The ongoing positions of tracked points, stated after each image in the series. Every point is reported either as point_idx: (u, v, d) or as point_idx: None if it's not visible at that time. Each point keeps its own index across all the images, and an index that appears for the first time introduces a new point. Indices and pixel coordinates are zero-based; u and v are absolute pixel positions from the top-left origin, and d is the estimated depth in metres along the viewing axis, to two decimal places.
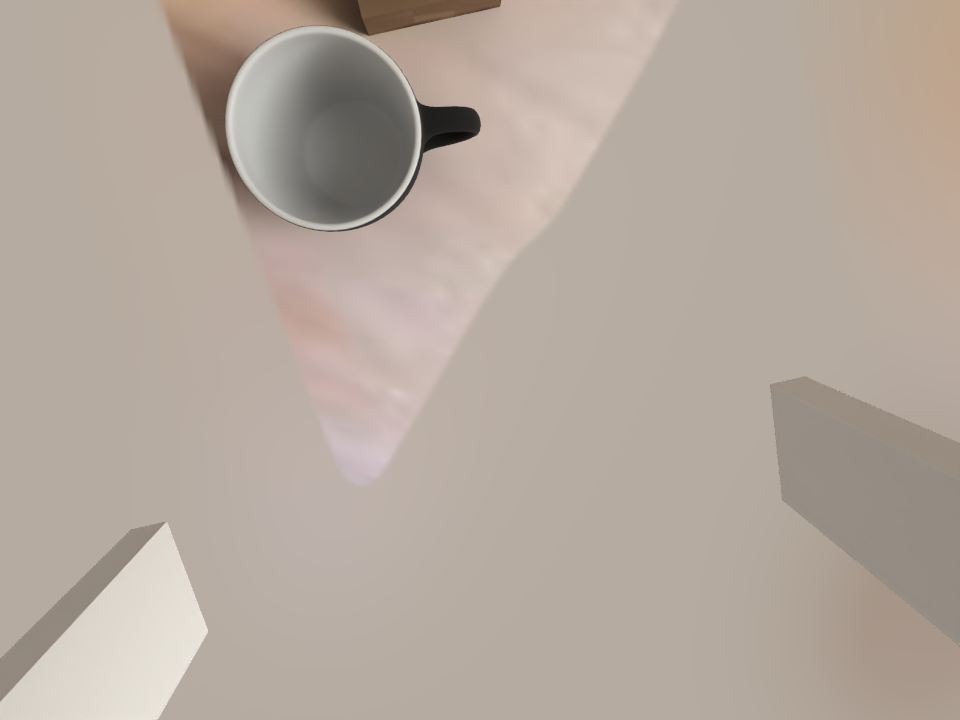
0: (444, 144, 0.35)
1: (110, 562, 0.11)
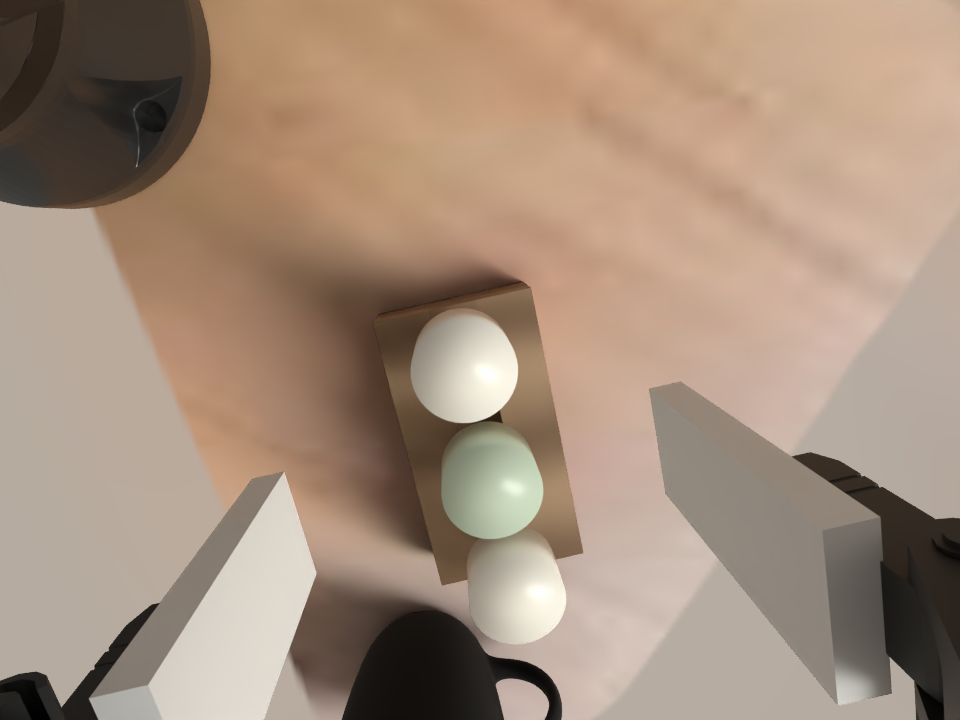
0: None
1: (246, 503, 0.12)
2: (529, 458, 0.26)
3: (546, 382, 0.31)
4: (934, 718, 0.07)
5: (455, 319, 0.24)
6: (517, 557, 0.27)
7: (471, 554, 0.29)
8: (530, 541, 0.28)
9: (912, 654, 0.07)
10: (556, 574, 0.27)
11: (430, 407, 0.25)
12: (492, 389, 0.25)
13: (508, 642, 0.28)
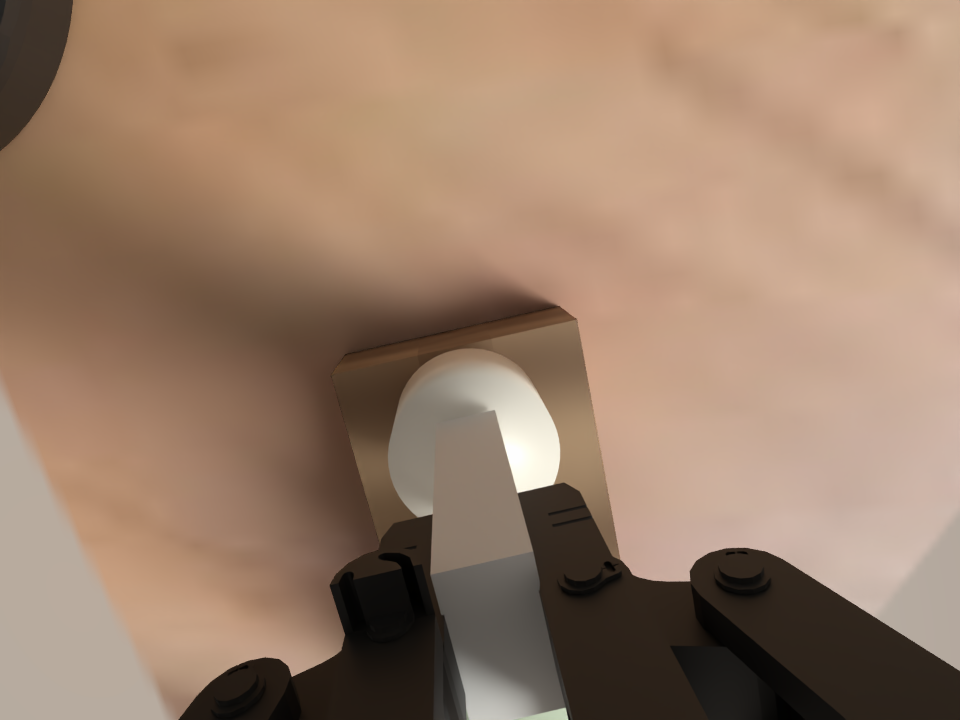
0: None
1: (449, 439, 0.13)
2: None
3: (597, 461, 0.20)
4: None
5: (460, 374, 0.15)
6: None
7: None
8: None
9: (557, 673, 0.08)
10: None
11: (420, 512, 0.15)
12: (519, 483, 0.15)
13: None
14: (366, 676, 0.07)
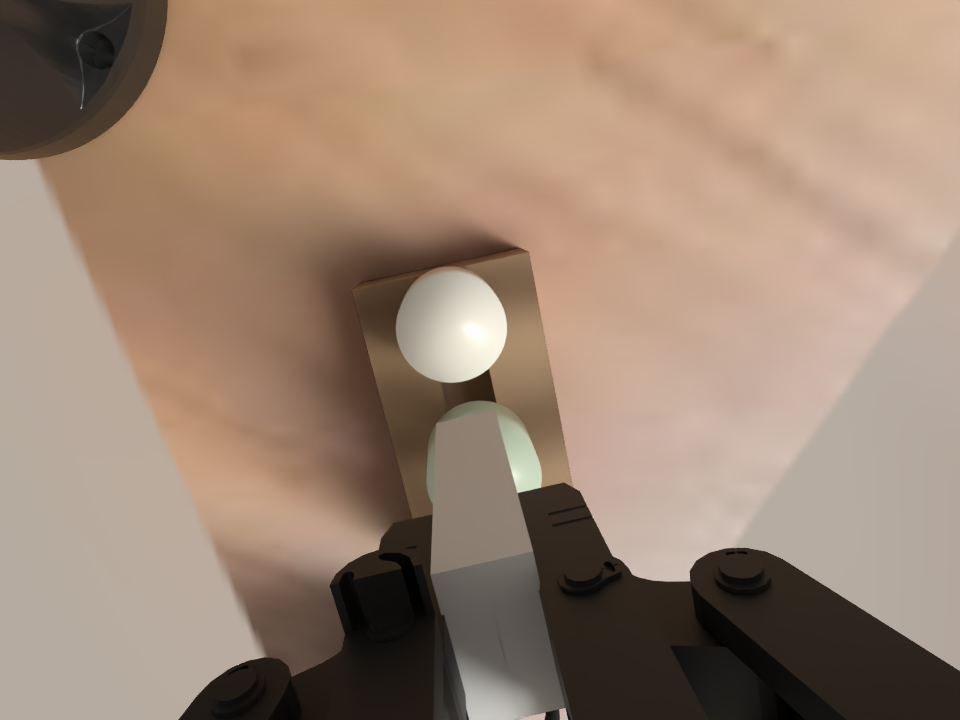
0: None
1: (449, 439, 0.13)
2: (526, 441, 0.23)
3: (545, 358, 0.28)
4: None
5: (442, 274, 0.23)
6: None
7: None
8: None
9: (557, 673, 0.08)
10: None
11: (416, 366, 0.24)
12: (480, 347, 0.24)
13: None
14: (366, 676, 0.07)
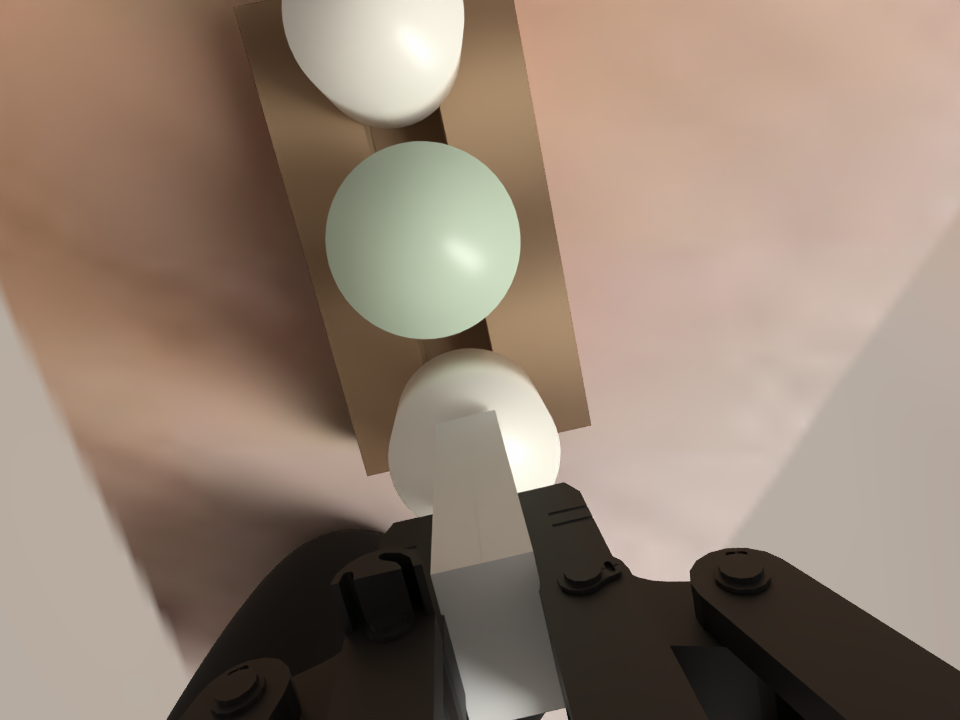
0: None
1: (449, 439, 0.13)
2: (493, 174, 0.13)
3: (531, 126, 0.18)
4: None
5: None
6: (474, 373, 0.15)
7: (402, 394, 0.17)
8: (499, 363, 0.16)
9: (557, 673, 0.08)
10: (543, 406, 0.15)
11: (318, 79, 0.15)
12: (421, 49, 0.15)
13: None
14: (366, 676, 0.07)
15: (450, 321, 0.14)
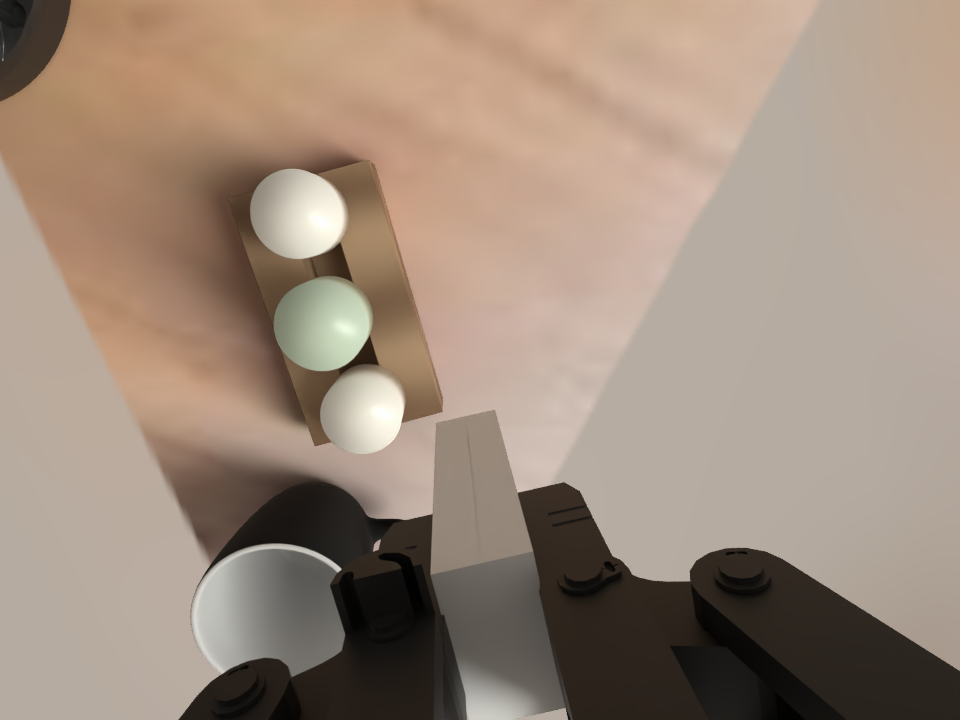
0: None
1: (449, 439, 0.13)
2: (350, 294, 0.29)
3: (391, 249, 0.34)
4: None
5: (283, 170, 0.30)
6: (357, 376, 0.32)
7: None
8: (375, 371, 0.34)
9: (557, 673, 0.08)
10: (391, 390, 0.32)
11: (269, 246, 0.30)
12: (319, 228, 0.30)
13: (358, 453, 0.33)
14: (366, 676, 0.07)
15: (335, 362, 0.29)
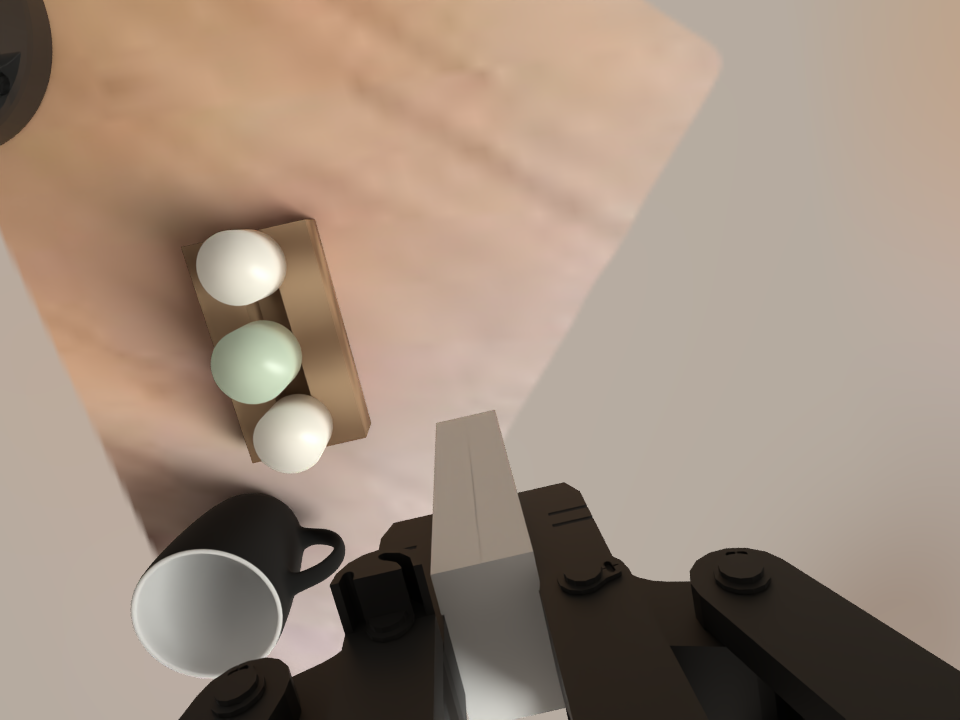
0: (323, 544, 0.43)
1: (449, 439, 0.13)
2: (277, 340, 0.34)
3: (323, 296, 0.39)
4: None
5: (226, 230, 0.35)
6: (286, 406, 0.37)
7: None
8: (304, 401, 0.39)
9: (557, 673, 0.08)
10: (315, 420, 0.37)
11: (212, 294, 0.35)
12: (256, 281, 0.35)
13: (285, 472, 0.38)
14: (366, 676, 0.07)
15: (263, 397, 0.34)
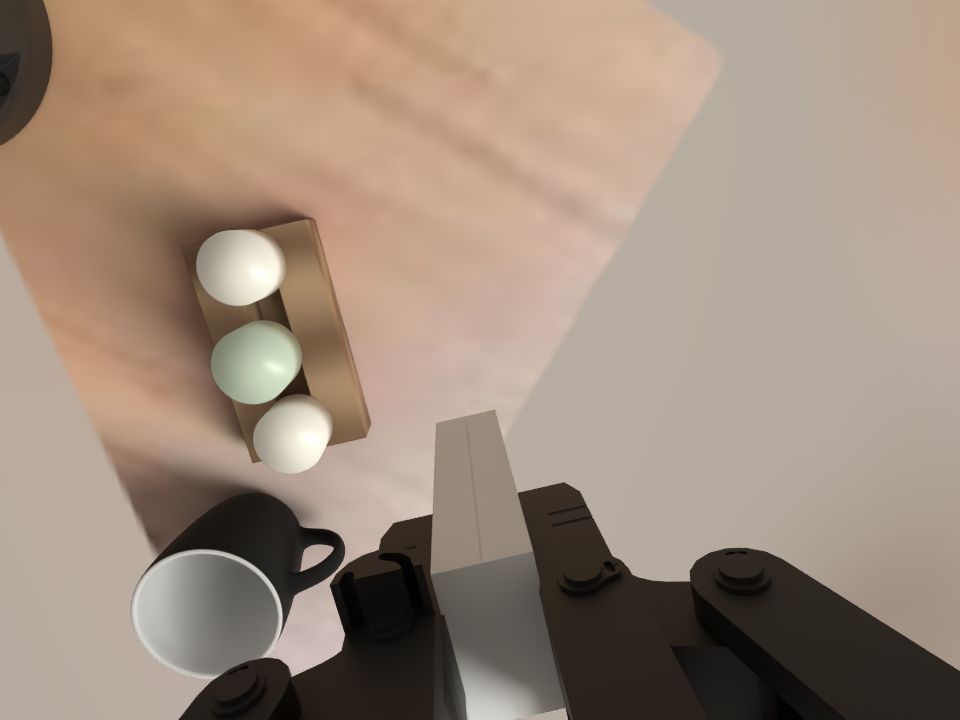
0: (323, 544, 0.43)
1: (450, 439, 0.13)
2: (277, 340, 0.34)
3: (323, 296, 0.39)
4: None
5: (226, 230, 0.35)
6: (286, 406, 0.37)
7: None
8: (304, 401, 0.39)
9: (557, 673, 0.08)
10: (315, 420, 0.37)
11: (212, 294, 0.35)
12: (256, 281, 0.35)
13: (285, 472, 0.38)
14: (366, 676, 0.07)
15: (263, 397, 0.34)
